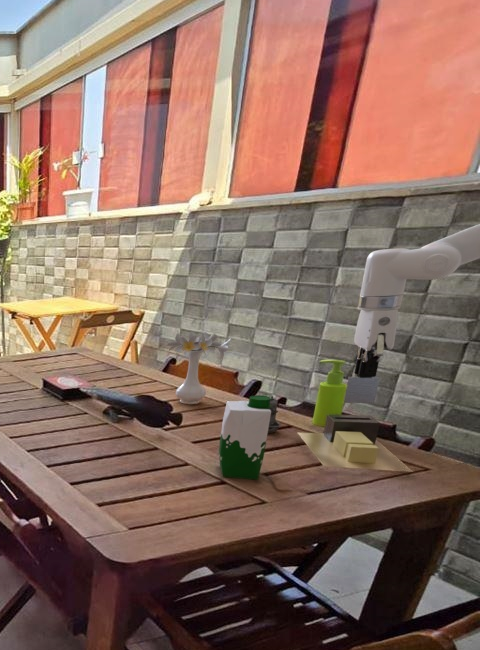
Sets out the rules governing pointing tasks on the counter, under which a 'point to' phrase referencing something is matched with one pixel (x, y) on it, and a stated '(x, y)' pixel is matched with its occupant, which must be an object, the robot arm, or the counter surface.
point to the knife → (361, 388)
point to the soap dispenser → (330, 394)
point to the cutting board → (334, 459)
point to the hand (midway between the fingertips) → (364, 374)
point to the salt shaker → (273, 416)
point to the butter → (349, 440)
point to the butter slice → (361, 453)
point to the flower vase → (195, 363)
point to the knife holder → (351, 426)
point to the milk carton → (244, 437)
